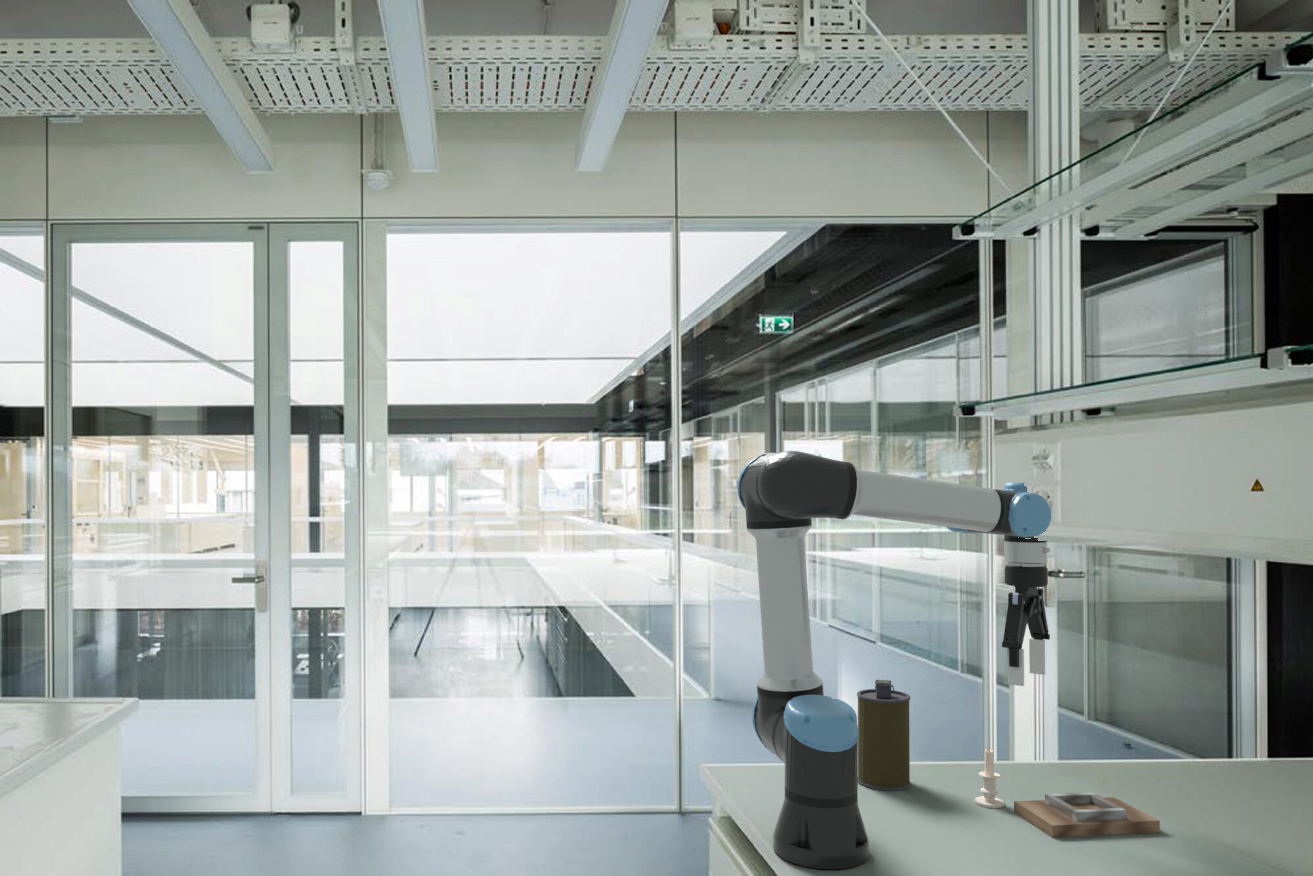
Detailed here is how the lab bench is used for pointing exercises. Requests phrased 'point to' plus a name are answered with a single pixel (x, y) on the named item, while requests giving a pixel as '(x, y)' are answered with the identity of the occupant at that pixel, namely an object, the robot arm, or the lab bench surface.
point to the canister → (883, 738)
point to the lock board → (1085, 815)
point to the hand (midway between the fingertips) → (1027, 679)
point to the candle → (989, 784)
